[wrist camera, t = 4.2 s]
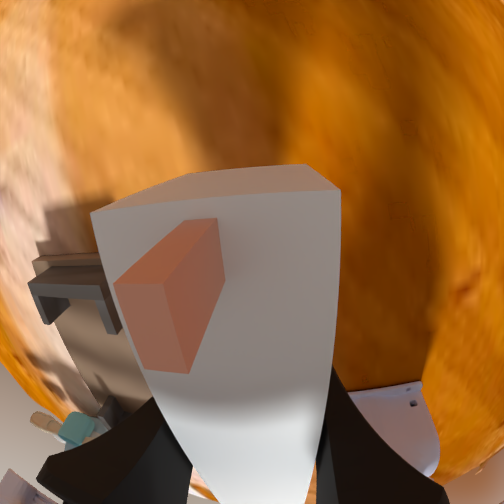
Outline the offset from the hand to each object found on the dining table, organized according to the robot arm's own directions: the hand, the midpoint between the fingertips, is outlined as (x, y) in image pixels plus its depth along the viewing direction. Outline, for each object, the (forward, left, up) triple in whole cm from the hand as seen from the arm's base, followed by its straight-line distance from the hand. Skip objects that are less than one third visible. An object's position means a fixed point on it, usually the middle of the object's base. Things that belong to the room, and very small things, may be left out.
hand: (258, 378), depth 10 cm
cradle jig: (+13, +7, -8) cm, 17 cm away
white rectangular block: (0, 0, -2) cm, 2 cm away
